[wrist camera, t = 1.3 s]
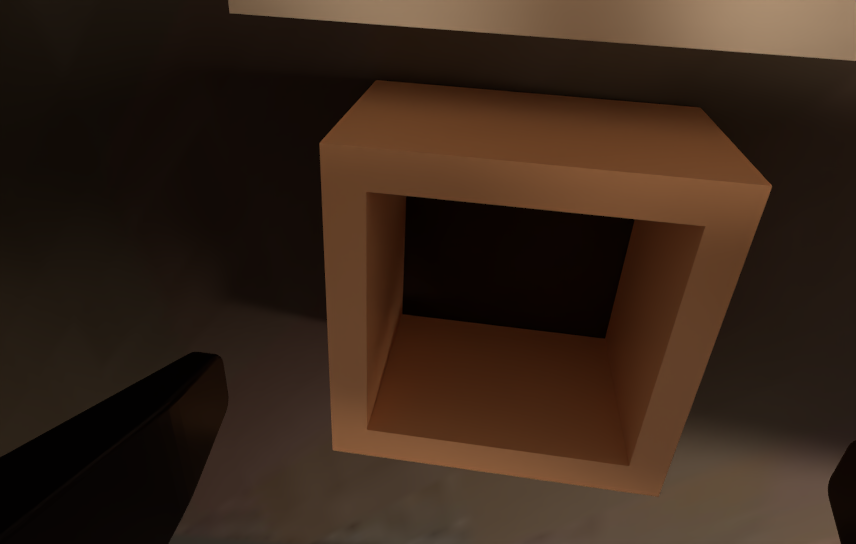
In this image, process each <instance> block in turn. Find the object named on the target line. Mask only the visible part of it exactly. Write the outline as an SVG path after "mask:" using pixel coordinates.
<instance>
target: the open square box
mask: <svg viewBox="0 0 856 544" xmlns="http://www.w3.org/2000/svg"><path fill="white" fill-rule="evenodd" d="M319 145H320V168H321V191H322V214H323V237H324V260H325V283H326V306H327V329H328V352H329V375H330V398H331V421H332V444H333V450H335V451H342V452H349V453H356V454H363V455H370V456H377V457H384V458H391V459H398V460H405V461H412V462H419V463H426V464H433V465H440V466H447V467H454V468H461V469H468V470H475V471H482V472H489V473H496V474H503V475H510V476H517V477H524V478H531V479H538V480H545V481H552V482H559V483H566V484H572V485H579V486H586V487H593V488H600V489H607V490H614V491H621V492H628V493H635V494H642V495H649V496H656V497H659V494H660V491H661V488H662V486H663V483H664V480H665V478H666V475H667V472H668V469H669V467H670V464H671V461H672V458H673V456H674V453H675V450H676V448H677V445H678V442H679V439H680V437H681V434H682V431H683V428H684V426H685V423H686V420H687V418H688V415H689V412H690V409H691V407H692V404H693V401H694V398H695V396H696V393H697V390H698V388H699V385H700V382H701V379H702V377H703V374H704V371H705V368H706V366H707V363H708V360H709V358H710V355H711V352H712V349H713V347H714V344H715V341H716V338H717V336H718V333H719V330H720V328H721V325H722V322H723V319H724V317H725V314H726V311H727V308H728V306H729V303H730V300H731V298H732V295H733V292H734V289H735V287H736V284H737V281H738V278H739V276H740V273H741V270H742V268H743V265H744V262H745V259H746V257H747V254H748V251H749V248H750V246H751V243H752V240H753V238H754V235H755V232H756V229H757V227H758V224H759V221H760V218H761V216H762V213H763V210H764V208H765V205H766V202H767V199H768V197H769V194H770V191H771V188H772V185H771V184H770V183H769V182H768V181H767V180H766V179H765V178H764V176H763V175H762V174H761V173H760V172H759V171H758V170H757V169H756V168H755V167H754V166H753V164H752V163H751V162H750V161H749V160H748V159H747V158H746V157H745V156H744V155H743V154H742V152H741V151H740V150H739V149H738V148H737V147H736V146H735V145H734V144H733V143H732V142H731V140H730V139H729V138H728V137H727V136H726V135H725V134H724V133H723V132H722V131H721V129H720V128H719V127H718V126H717V125H716V124H715V123H714V122H713V121H712V120H711V119H710V117H709V116H708V115H707V114H706V113H705V112H704V111H703V110H702V109H701V108H700V107H689V106H677V105H665V104H653V103H642V102H630V101H618V100H606V99H594V98H583V97H571V96H559V95H547V94H535V93H524V92H512V91H500V90H488V89H476V88H465V87H453V86H441V85H429V84H417V83H406V82H394V81H382V80H376V81H375V82H374V83H373V84H372V85H371V86H370V88H369V89H368V90H367V91H366V92H365V93H364V94H363V95H362V96H361V97H360V99H359V100H358V101H357V102H356V103H355V104H354V105H353V106H352V107H351V109H350V110H349V111H348V112H347V113H346V114H345V115H344V116H343V117H342V118H341V120H340V121H339V122H338V123H337V124H336V125H335V126H334V127H333V128H332V130H331V131H330V132H329V133H328V134H327V135H326V136H325V137H324V138H323V140H322V141H321V142H320V143H319ZM406 196H413V197H423V198H432V199H442V200H452V201H462V202H472V203H481V204H491V205H501V206H511V207H520V208H530V209H540V210H550V211H560V212H569V213H579V214H589V215H599V216H609V217H618V218H628V219H635V220H634V224H633V228H632V232H631V236H630V240H629V244H628V248H627V252H626V256H625V260H624V264H623V268H622V272H621V276H620V280H619V284H618V288H617V292H616V296H615V300H614V304H613V308H612V312H611V317H610V321H609V325H608V329H607V333H606V337H605V339H604V338H596V337H588V336H579V335H571V334H563V333H554V332H546V331H538V330H530V329H521V328H513V327H505V326H496V325H488V324H480V323H471V322H463V321H455V320H447V319H438V318H430V317H422V316H413V315H405V314H402V309H403V280H404V251H405V221H406Z"/></svg>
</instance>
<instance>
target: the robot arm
mask: <svg viewBox="0 0 856 544" xmlns="http://www.w3.org/2000/svg"><path fill="white" fill-rule="evenodd" d="M227 406H228V390H227V383H226V377H225V371H224V365H223V361H222V359H221V357H220V356H218V355H216V354H210V353H203V352H192V353H190V354H187V355H186V356H184V357H182V358H180V359H178V360H176V361H175V362H173V363H171V364H169V365H167V366H166V367H164V368H162V369H160V370H158V371H156V372H155V373H153V374H151V375H149V376H147V377H146V378H144V379H142V380H140V381H138V382H136V383H135V384H133V385H131V386H129V387H127V388H126V389H124V390H122V391H120V392H118V393H116V394H115V395H113V396H111V397H109V398H107V399H106V400H104V401H102V402H100V403H98V404H96V405H95V406H93V407H91V408H89V409H87V410H86V411H84V412H82V413H80V414H78V415H76V416H75V417H73V418H71V419H69V420H67V421H66V422H64V423H62V424H60V425H58V426H56V427H55V428H53V429H51V430H49V431H47V432H46V433H44V434H42V435H40V436H38V437H36V438H35V439H33V440H31V441H29V442H27V443H26V444H24V445H22V446H20V447H18V448H16V449H15V450H13V451H11V452H9V453H7V454H6V455H4V456H2V457H0V544H169V542H170V540H171V538H172V536H173V534H174V532H175V530H176V528H177V527H178V525H179V523H180V521H181V519H182V517H183V515H184V513H185V511H186V509H187V507H188V505H189V503H190V501H191V498H192V496H193V494H194V491H195V489H196V487H197V484H198V482H199V479H200V476H201V474H202V471H203V469H204V466H205V464H206V461H207V459H208V456H209V454H210V451H211V449H212V446H213V444H214V441H215V438H216V436H217V433H218V431H219V428H220V426H221V423H222V421H223V418H224V416H225V413H226V410H227ZM828 496H829V501H830V504H831V508H832V512H833V516H834V519H835V523H836V527H837V531H838V534H839V538H840V542H841V544H856V440H855V441H853V442H852V443H851V444H850V445H849V446H848V448H847V449H846V451H845V453H844V455H843V457H842V458H841V460H840V462H839V464H838V465H837V467H836V469H835V471H834V472H833V474H832V476H831V478H830V480H829V484H828Z"/></svg>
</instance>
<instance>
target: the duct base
mask: <svg viewBox="0 0 856 544" xmlns="http://www.w3.org/2000/svg"><path fill="white" fill-rule="evenodd" d="M228 3H229V12H230V13H234V14H247V15H260V16H273V17H286V18H299V19H312V20H326V21H339V22H352V23H365V24H378V25H391V26H404V27H418V28H431V29H444V30H457V31H470V32H483V33H496V34H509V35H523V36H536V37H549V38H562V39H575V40H588V41H601V42H615V43H628V44H641V45H654V46H667V47H680V48H693V49H706V50H720V51H733V52H746V53H759V54H772V55H785V56H798V57H812V58H825V59H838V60H851V61H856V0H228Z"/></svg>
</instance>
